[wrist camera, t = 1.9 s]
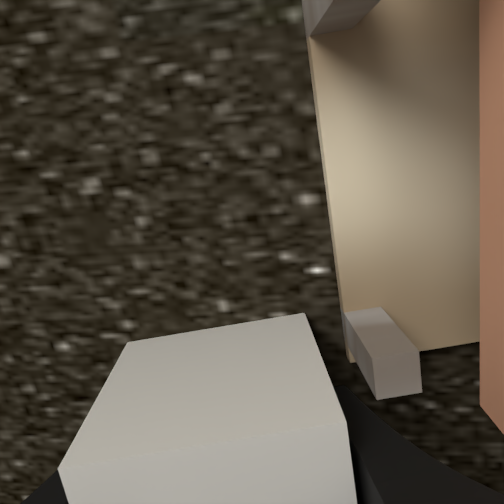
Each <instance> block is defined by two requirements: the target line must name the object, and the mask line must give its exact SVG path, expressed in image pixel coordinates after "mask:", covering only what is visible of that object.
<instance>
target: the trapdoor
mask: <svg viewBox="0 0 504 504" xmlns="http://www.w3.org/2000/svg"><path fill="white" fill-rule="evenodd" d="M479 107H480V406H481V407H482V408H483V410H484V411H485V412H486V413H487V415H488V416H489V417H490V418H491V419H492V421H493V422H494V423H495V424H496V425H497V427H498V428H499V429H500V430H501V432H502V433H503V434H504V0H479Z"/></svg>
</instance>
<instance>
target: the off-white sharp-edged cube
mask: <svg viewBox="0 0 504 504" xmlns="http://www.w3.org/2000/svg"><path fill="white" fill-rule="evenodd" d="M58 472H59V475H60V478H61V481H62V484H63V487H64V490H65V493H66V496H67V500H68V503H69V504H357V498H356V490H355V483H354V475H353V467H352V460H351V452H350V445H349V437H348V429H347V422H346V419H345V416H344V414H343V411H342V409H341V406H340V403H339V401H338V398H337V396H336V393H335V391H334V388H333V385H332V383H331V380H330V378H329V375H328V372H327V370H326V367H325V365H324V362H323V359H322V357H321V354H320V352H319V349H318V346H317V344H316V341H315V339H314V336H313V333H312V331H311V328H310V326H309V323H308V320H307V318H306V315H305V313H300V314H295V315H289V316H283V317H277V318H271V319H265V320H259V321H253V322H247V323H241V324H235V325H229V326H223V327H217V328H211V329H205V330H199V331H193V332H187V333H181V334H175V335H169V336H163V337H157V338H151V339H145V340H139V341H133V342H127V344H126V346H125V348H124V350H123V352H122V353H121V355H120V357H119V359H118V361H117V362H116V364H115V366H114V368H113V370H112V371H111V373H110V375H109V377H108V379H107V381H106V382H105V384H104V386H103V388H102V390H101V391H100V393H99V395H98V397H97V399H96V400H95V402H94V404H93V406H92V408H91V410H90V411H89V413H88V415H87V417H86V419H85V420H84V422H83V424H82V426H81V428H80V430H79V431H78V433H77V435H76V437H75V439H74V440H73V442H72V444H71V446H70V448H69V449H68V451H67V453H66V455H65V457H64V459H63V460H62V462H61V464H60V466H59V468H58Z"/></svg>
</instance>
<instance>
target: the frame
mask: <svg viewBox="0 0 504 504" xmlns="http://www.w3.org/2000/svg"><path fill="white" fill-rule="evenodd" d="M302 7H303V15H304V23H305V31H306V39H307V47H308V55H309V63H310V71H311V78H312V86H313V94H314V102H315V110H316V118H317V126H318V134H319V142H320V149H321V157H322V165H323V173H324V181H325V189H326V197H327V205H328V213H329V220H330V228H331V236H332V244H333V252H334V260H335V268H336V276H337V284H338V291H339V299H340V307H341V315H342V323H343V331H344V339H345V347H346V355H347V358H348V360H349V362H350V363H353V362H357V364H358V366H359V368H360V370H361V372H362V374H363V375H364V377H365V379H366V381H367V383H368V385H369V387H370V389H371V390H372V392H373V394H374V396H375V398H376V400H380V399H386V398H392V397H398V396H404V395H410V394H416V393H422V382H421V370H420V358H419V351H425V350H431V349H437V348H443V347H449V346H455V345H461V344H467V343H473V342H479V341H480V107H479V0H302Z"/></svg>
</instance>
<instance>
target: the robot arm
mask: <svg viewBox="0 0 504 504" xmlns="http://www.w3.org/2000/svg"><path fill="white" fill-rule="evenodd" d="M333 388H334V391H335V393H336V396H337V398H338V401H339V403H340V406H341V409H342V411H343V414H344V416H345V419H346V422H347V429H348V437H349V445H350V452H351V460H352V467H353V475H354V483H355V490H356V498H357V504H504V494H501V493H499V492H497V491H495V490H492V489H490V488H488V487H486V486H484V485H482V484H480V483H478V482H476V481H474V480H472V479H470V478H468V477H466V476H464V475H463V474H461V473H459V472H457V471H455V470H453V469H452V468H450V467H448V466H447V465H445V464H443V463H442V462H440V461H438V460H437V459H435V458H433V457H432V456H430V455H428V454H427V453H425V452H424V451H422V450H421V449H419V448H418V447H417V446H415V445H414V444H412V443H411V442H410V441H408V440H407V439H406V438H404V437H403V436H402V435H400V434H399V433H398V432H396V431H395V430H394V429H393V428H392V427H390V426H389V425H388V424H387V423H385V422H384V421H383V420H382V419H381V418H379V417H378V416H377V415H376V414H375V413H374V412H373V411H371V410H370V409H369V408H368V407H367V406H366V405H365V404H364V403H363V402H362V401H361V400H360V399H359V398H358V397H357V396H356V395H355V394H354V393H353V392H352V391H351V390H350V389H349V388H347V387H346V386H344V385H342V386H336V387H333ZM21 504H69V503H68V500H67V496H66V493H65V490H64V487H63V484H62V481H61V478H60V475H59V472H58V470H57V471H56V472H55V473H54V474H53V475H52V476H51V477H49V478H48V479H47V480H46V481H45V482H44V483H43V484H42V485H41V486H40V487H38V488H37V489H36V490H35V491H34V492H33V493H32V494H31V495H30V496H29V497H27V498H26V499H25V500H24V501H23V502H22V503H21Z"/></svg>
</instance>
